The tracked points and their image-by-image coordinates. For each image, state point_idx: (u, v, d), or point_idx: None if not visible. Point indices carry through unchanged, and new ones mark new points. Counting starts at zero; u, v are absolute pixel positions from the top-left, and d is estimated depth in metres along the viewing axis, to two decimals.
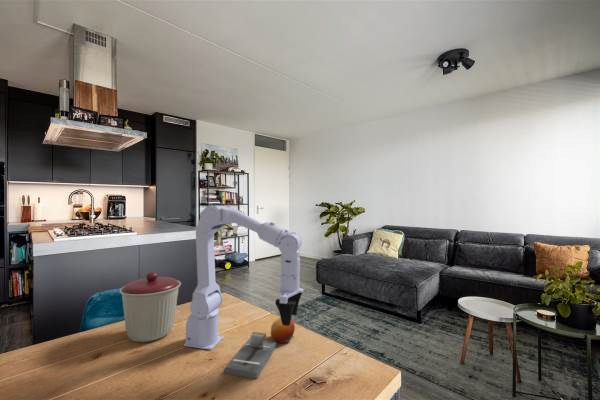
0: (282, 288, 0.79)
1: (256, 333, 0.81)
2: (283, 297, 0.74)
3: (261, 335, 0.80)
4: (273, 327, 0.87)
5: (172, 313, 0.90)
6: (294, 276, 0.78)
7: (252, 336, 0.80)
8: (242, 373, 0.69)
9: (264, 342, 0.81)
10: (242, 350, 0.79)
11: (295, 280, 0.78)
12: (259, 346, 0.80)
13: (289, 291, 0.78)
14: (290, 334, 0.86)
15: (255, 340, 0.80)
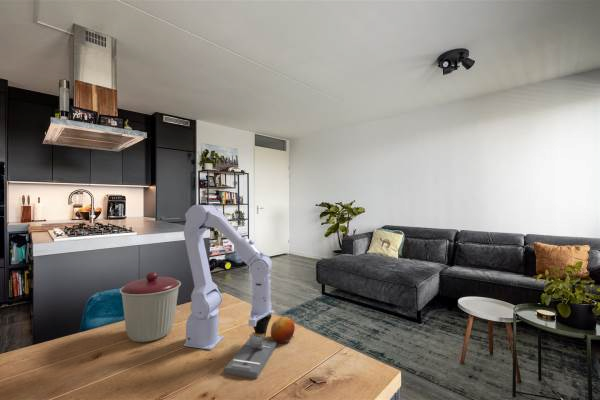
0: (253, 310, 0.82)
1: (255, 334, 0.81)
2: (252, 320, 0.76)
3: (260, 336, 0.80)
4: (273, 327, 0.87)
5: (172, 313, 0.90)
6: (264, 298, 0.81)
7: (251, 337, 0.80)
8: (242, 373, 0.69)
9: (264, 343, 0.80)
10: (242, 350, 0.79)
11: (265, 303, 0.81)
12: (258, 347, 0.79)
13: (259, 313, 0.81)
14: (290, 334, 0.86)
15: (255, 341, 0.80)
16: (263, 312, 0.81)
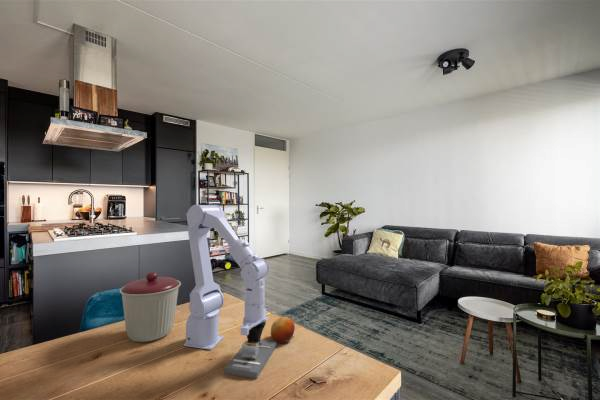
0: (245, 317, 0.76)
1: (248, 343, 0.75)
2: (244, 328, 0.71)
3: (253, 345, 0.74)
4: (273, 327, 0.87)
5: (172, 313, 0.90)
6: (258, 305, 0.76)
7: (244, 346, 0.75)
8: (242, 373, 0.69)
9: (257, 353, 0.75)
10: None
11: (259, 309, 0.76)
12: (251, 357, 0.74)
13: (252, 320, 0.75)
14: (290, 334, 0.86)
15: (247, 350, 0.74)
16: (256, 319, 0.76)
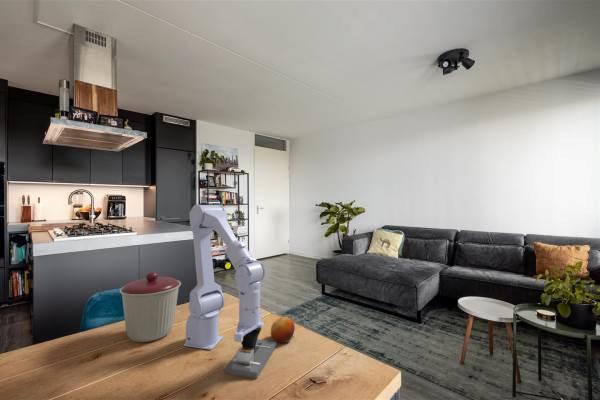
0: (240, 322, 0.73)
1: (242, 349, 0.72)
2: (238, 335, 0.68)
3: (248, 352, 0.71)
4: (273, 327, 0.87)
5: (172, 313, 0.90)
6: (252, 310, 0.72)
7: (238, 353, 0.71)
8: (242, 373, 0.69)
9: (252, 360, 0.72)
10: None
11: (254, 314, 0.73)
12: (246, 364, 0.71)
13: (247, 326, 0.72)
14: (290, 334, 0.86)
15: (242, 358, 0.71)
16: (251, 325, 0.72)
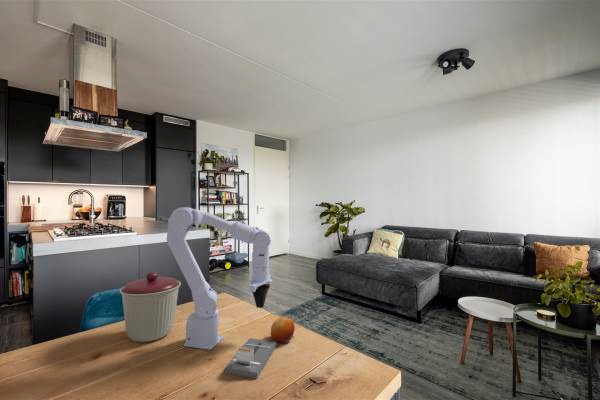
0: (253, 279, 0.89)
1: (242, 349, 0.72)
2: (251, 286, 0.83)
3: (248, 352, 0.71)
4: (273, 327, 0.87)
5: (172, 313, 0.90)
6: (263, 268, 0.88)
7: (238, 353, 0.71)
8: (242, 373, 0.69)
9: (252, 360, 0.72)
10: None
11: (264, 272, 0.88)
12: (246, 364, 0.71)
13: (258, 281, 0.88)
14: (290, 334, 0.86)
15: (242, 358, 0.71)
16: (262, 280, 0.88)
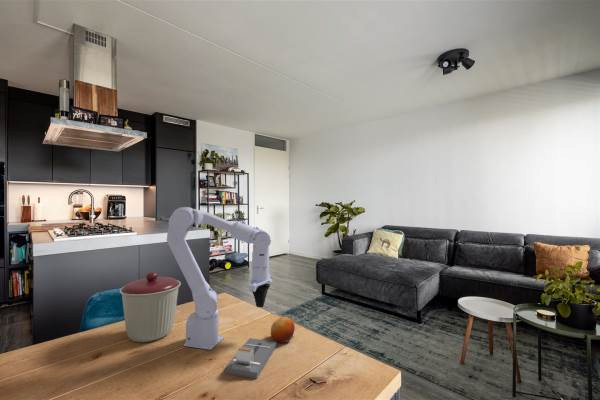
0: (253, 278, 0.89)
1: (242, 349, 0.72)
2: (252, 286, 0.84)
3: (248, 352, 0.71)
4: (273, 327, 0.87)
5: (172, 313, 0.90)
6: (263, 268, 0.89)
7: (238, 353, 0.71)
8: (242, 373, 0.69)
9: (252, 360, 0.72)
10: None
11: (264, 271, 0.89)
12: (246, 364, 0.71)
13: (259, 281, 0.88)
14: (290, 334, 0.86)
15: (242, 358, 0.71)
16: (262, 280, 0.88)
